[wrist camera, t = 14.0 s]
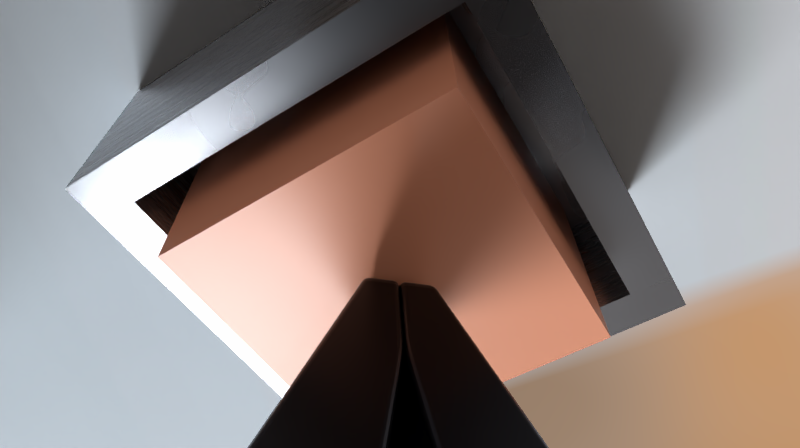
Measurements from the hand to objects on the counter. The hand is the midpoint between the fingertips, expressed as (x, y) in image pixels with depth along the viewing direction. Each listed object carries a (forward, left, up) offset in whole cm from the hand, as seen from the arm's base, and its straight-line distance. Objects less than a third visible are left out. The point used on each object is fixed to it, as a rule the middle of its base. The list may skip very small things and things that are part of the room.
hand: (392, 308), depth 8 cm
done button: (0, 0, -3) cm, 3 cm away
